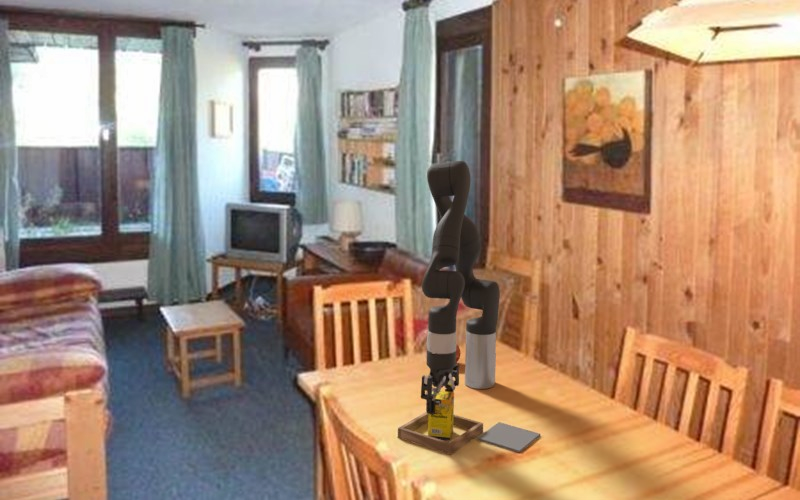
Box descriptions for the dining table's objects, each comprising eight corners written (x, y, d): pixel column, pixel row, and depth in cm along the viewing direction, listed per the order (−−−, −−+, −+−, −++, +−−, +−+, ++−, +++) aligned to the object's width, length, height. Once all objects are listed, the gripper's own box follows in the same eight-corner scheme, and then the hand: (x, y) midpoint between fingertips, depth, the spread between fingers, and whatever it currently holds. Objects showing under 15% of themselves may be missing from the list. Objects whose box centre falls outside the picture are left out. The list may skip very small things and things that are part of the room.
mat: (499, 424, 185) (499, 422, 185) (540, 435, 178) (540, 433, 178) (476, 439, 175) (476, 437, 175) (519, 452, 168) (519, 450, 168)
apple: (435, 367, 229) (435, 344, 227) (438, 359, 237) (438, 337, 236) (459, 369, 227) (459, 346, 226) (461, 361, 236) (461, 338, 234)
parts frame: (432, 417, 189) (432, 408, 189) (483, 432, 180) (483, 423, 179) (397, 437, 176) (397, 428, 176) (450, 454, 167) (450, 445, 167)
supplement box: (450, 441, 175) (451, 400, 173) (427, 438, 176) (428, 398, 174) (453, 431, 180) (454, 391, 178) (431, 429, 181) (431, 389, 180)
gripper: (444, 339, 182) (442, 397, 184) (413, 351, 171) (412, 413, 173) (468, 344, 178) (466, 403, 180) (438, 357, 166) (436, 421, 169)
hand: (439, 408), depth 177 cm, fingers open, 8 cm apart
